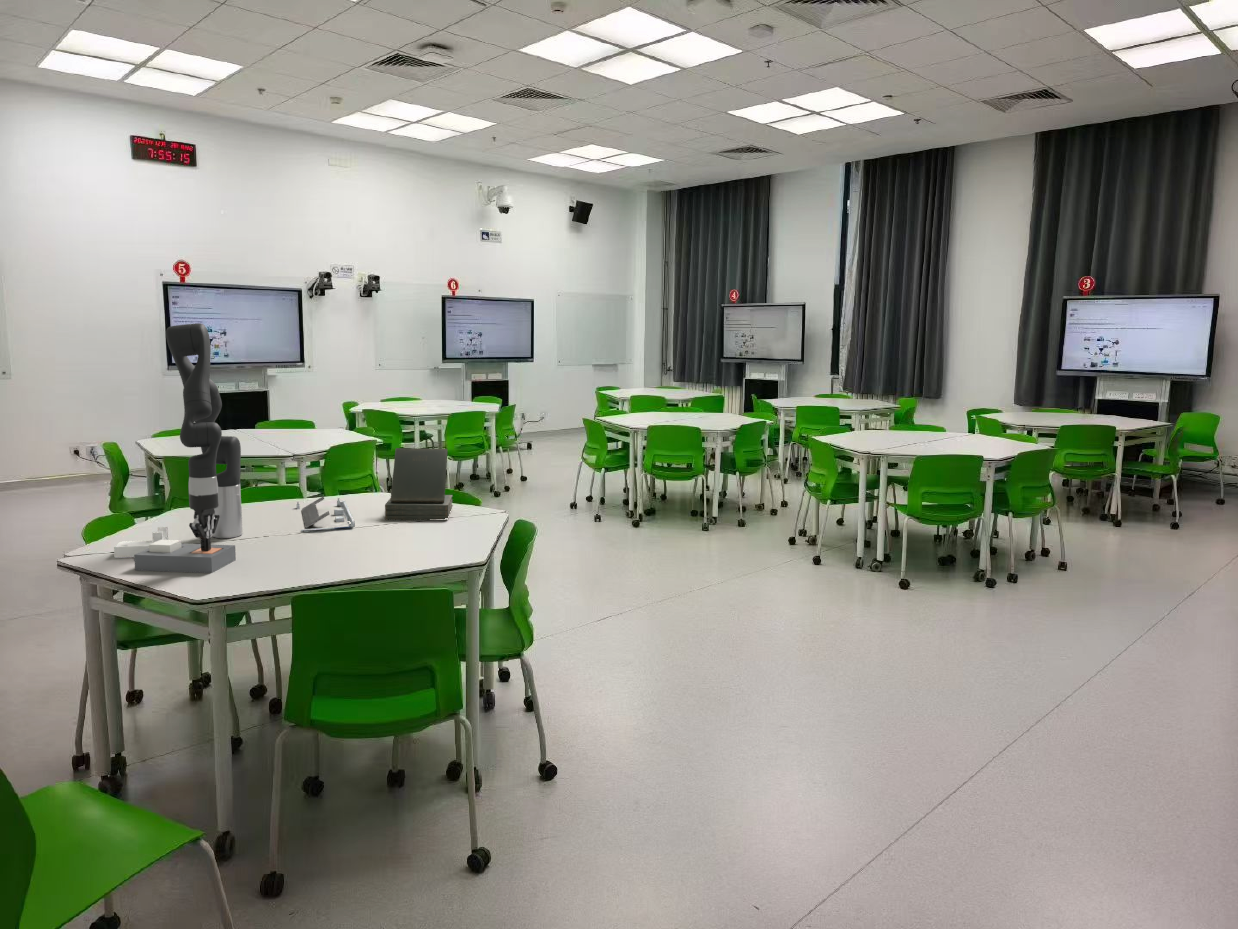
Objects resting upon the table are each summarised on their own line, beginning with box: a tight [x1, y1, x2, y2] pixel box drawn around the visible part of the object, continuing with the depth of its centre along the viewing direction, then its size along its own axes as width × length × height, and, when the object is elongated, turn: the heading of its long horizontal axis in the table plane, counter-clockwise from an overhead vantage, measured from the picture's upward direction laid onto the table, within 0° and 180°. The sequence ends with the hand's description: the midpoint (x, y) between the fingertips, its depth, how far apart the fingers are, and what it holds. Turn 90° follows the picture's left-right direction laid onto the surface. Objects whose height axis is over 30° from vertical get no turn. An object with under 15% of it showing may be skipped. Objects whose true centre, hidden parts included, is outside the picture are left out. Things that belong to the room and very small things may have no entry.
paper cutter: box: [295, 496, 356, 531], centre depth 307 cm, size 18×45×6 cm, turn 23°
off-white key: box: [149, 539, 182, 553], centre depth 241 cm, size 6×6×4 cm
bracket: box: [113, 526, 169, 559], centre depth 252 cm, size 13×7×8 cm, turn 106°
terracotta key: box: [191, 548, 222, 554], centre depth 241 cm, size 6×6×4 cm
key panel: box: [133, 542, 237, 574], centre depth 242 cm, size 14×22×4 cm, turn 89°
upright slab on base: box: [384, 447, 454, 521], centre depth 316 cm, size 23×20×25 cm
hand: (206, 550), depth 241 cm, fingers closed
